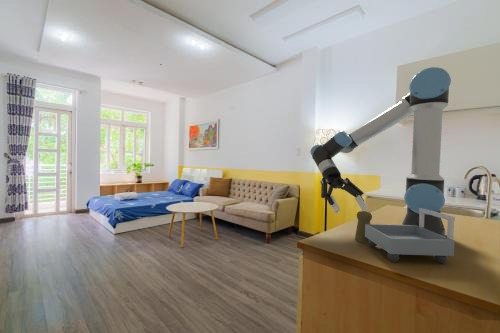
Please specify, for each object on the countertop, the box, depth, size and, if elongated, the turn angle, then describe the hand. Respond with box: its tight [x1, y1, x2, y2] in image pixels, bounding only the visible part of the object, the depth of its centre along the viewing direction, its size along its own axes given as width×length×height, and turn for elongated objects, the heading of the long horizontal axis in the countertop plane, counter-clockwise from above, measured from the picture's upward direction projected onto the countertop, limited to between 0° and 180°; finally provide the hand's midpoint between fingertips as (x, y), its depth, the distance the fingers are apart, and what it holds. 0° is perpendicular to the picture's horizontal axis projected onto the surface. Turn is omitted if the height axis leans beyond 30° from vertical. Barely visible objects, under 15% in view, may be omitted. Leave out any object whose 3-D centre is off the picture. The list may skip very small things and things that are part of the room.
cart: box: [365, 208, 456, 264], centre depth 75 cm, size 19×16×14 cm
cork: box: [354, 210, 373, 244], centre depth 88 cm, size 6×6×11 cm
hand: (351, 210), depth 93 cm, fingers open, 13 cm apart
